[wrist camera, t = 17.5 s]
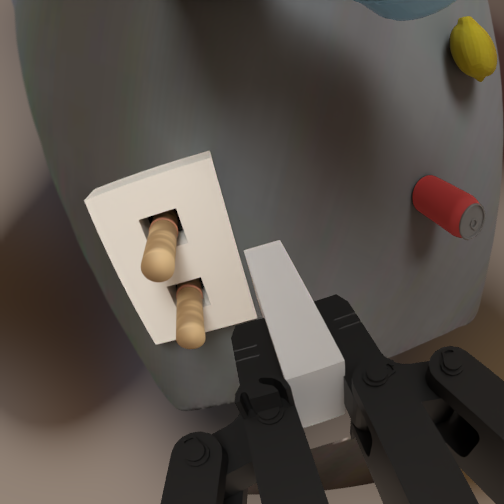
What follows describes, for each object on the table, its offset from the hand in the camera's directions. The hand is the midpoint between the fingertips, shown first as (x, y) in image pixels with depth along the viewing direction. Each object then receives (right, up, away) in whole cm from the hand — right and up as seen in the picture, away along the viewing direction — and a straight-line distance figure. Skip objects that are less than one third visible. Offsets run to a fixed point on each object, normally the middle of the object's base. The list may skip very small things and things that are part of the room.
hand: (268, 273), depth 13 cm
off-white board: (-11, +1, +31) cm, 33 cm away
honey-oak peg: (-10, -3, +34) cm, 35 cm away
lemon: (+32, +34, +22) cm, 52 cm away
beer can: (+28, +11, +34) cm, 45 cm away
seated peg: (-12, +5, +29) cm, 32 cm away
